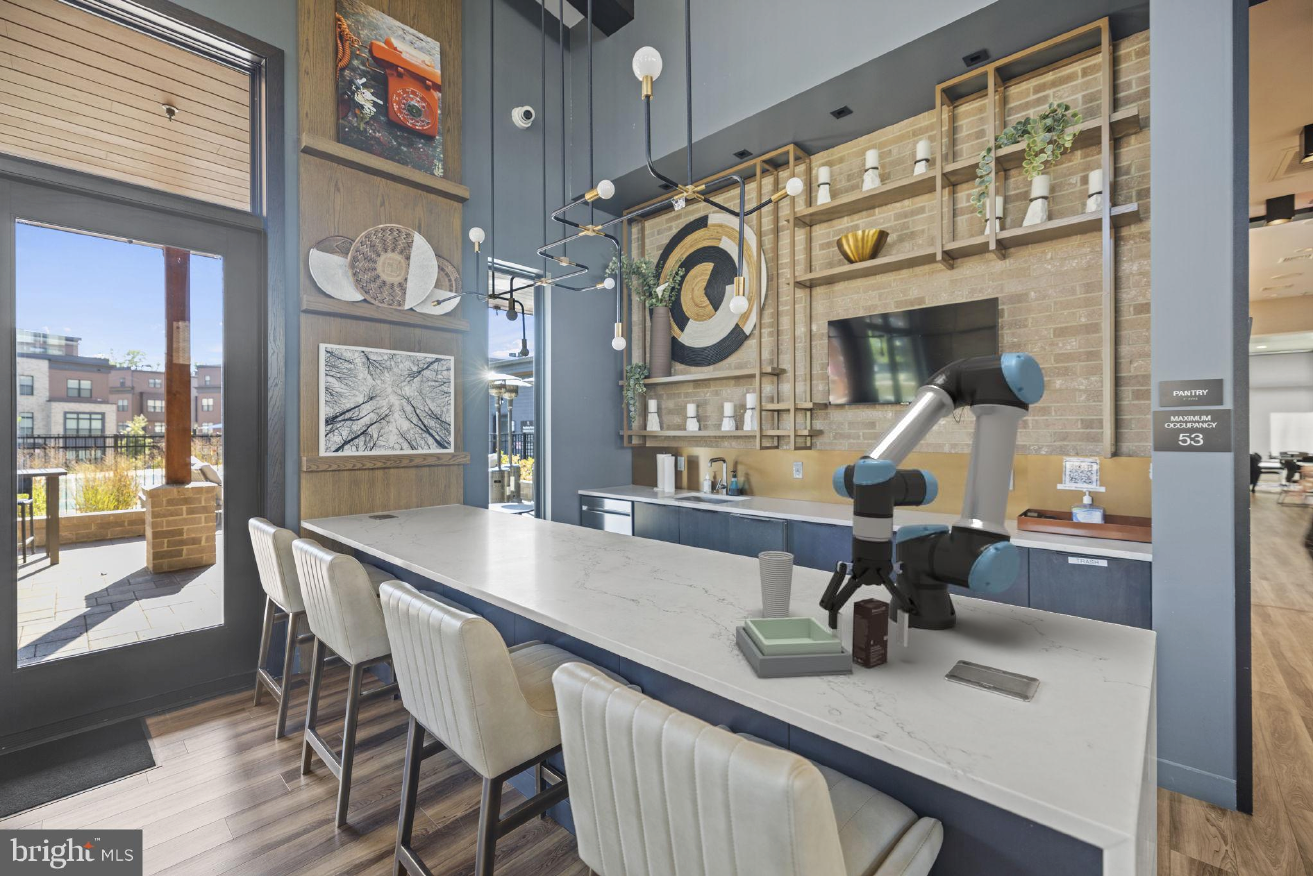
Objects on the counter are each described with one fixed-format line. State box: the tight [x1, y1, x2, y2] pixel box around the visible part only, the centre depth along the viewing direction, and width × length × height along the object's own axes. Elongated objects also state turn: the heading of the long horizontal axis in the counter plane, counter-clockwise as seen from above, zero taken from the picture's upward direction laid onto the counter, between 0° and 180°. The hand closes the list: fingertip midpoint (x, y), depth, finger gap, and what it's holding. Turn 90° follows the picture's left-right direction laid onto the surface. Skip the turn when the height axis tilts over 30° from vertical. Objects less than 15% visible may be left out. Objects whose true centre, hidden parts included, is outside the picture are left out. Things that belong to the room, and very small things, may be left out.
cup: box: [758, 550, 795, 618], centre depth 142 cm, size 8×8×16 cm
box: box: [851, 597, 890, 669], centre depth 115 cm, size 6×4×12 cm
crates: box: [735, 616, 853, 679], centre depth 117 cm, size 18×18×6 cm
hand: (869, 645), depth 114 cm, fingers open, 13 cm apart
